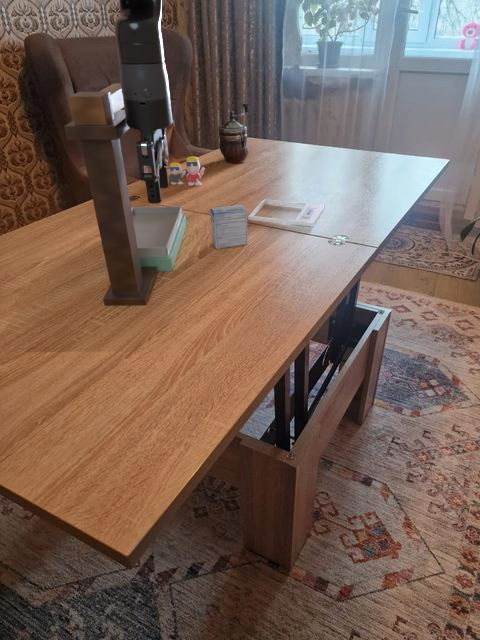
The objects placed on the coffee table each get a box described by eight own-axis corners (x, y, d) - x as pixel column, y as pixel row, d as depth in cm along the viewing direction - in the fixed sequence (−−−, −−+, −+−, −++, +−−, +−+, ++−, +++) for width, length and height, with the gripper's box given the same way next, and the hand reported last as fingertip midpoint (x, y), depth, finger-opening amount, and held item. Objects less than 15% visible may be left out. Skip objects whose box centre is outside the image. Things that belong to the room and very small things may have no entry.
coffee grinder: (259, 156, 184) (259, 104, 174) (242, 165, 173) (241, 110, 163) (230, 153, 188) (228, 101, 178) (211, 162, 177) (208, 108, 167)
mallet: (74, 125, 75) (68, 96, 72) (111, 100, 94) (107, 77, 91) (106, 125, 75) (101, 96, 72) (137, 100, 94) (133, 77, 91)
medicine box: (243, 238, 119) (242, 204, 114) (248, 245, 116) (247, 210, 111) (212, 242, 117) (209, 207, 112) (216, 249, 114) (214, 214, 109)
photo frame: (313, 222, 124) (247, 215, 129) (313, 226, 125) (248, 219, 129) (325, 204, 136) (264, 198, 140) (324, 208, 136) (264, 202, 141)
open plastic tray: (107, 272, 105) (102, 249, 101) (133, 225, 126) (130, 206, 123) (172, 271, 105) (169, 249, 102) (186, 225, 127) (184, 205, 124)
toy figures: (167, 184, 155) (164, 157, 150) (171, 180, 159) (169, 154, 154) (203, 186, 154) (201, 159, 149) (206, 182, 157) (205, 155, 152)
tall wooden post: (104, 305, 93) (63, 126, 74) (120, 272, 104) (89, 110, 85) (146, 305, 93) (115, 125, 74) (157, 272, 104) (134, 109, 86)
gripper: (132, 88, 83) (146, 183, 93) (112, 102, 72) (130, 208, 81) (175, 88, 83) (184, 183, 93) (162, 101, 72) (174, 208, 81)
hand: (159, 194), depth 87 cm, fingers open, 8 cm apart
